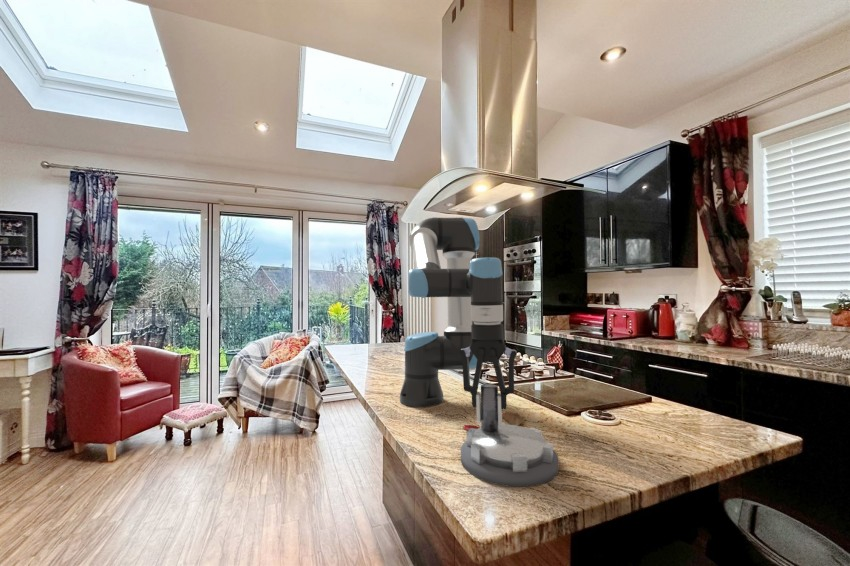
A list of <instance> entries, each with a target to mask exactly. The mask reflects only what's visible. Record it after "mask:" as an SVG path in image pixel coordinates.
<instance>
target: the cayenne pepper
mask: <svg viewBox="0 0 850 566" xmlns="http://www.w3.org/2000/svg"><path fill="white" fill-rule="evenodd" d="M480 427H481V426H477V425H474V424H464V426H463V427H462V428H463V430H465V431H466V432H467V431H468V430H469V429H470V428H474V429H478V428H480Z"/></svg>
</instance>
